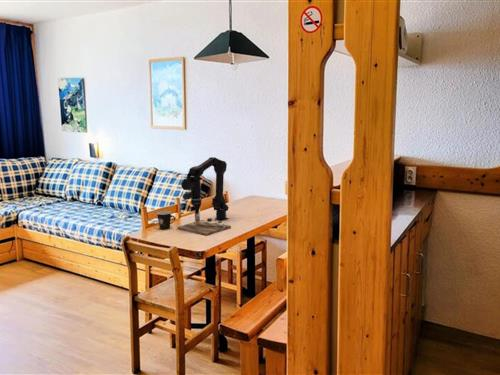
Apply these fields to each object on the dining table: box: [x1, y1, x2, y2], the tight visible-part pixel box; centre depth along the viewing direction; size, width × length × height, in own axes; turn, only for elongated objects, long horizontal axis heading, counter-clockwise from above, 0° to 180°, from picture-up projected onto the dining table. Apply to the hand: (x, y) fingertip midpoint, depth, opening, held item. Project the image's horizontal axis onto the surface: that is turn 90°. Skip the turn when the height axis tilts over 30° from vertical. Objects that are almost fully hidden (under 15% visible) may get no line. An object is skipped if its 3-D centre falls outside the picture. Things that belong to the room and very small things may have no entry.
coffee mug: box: [156, 210, 176, 231], centre depth 278 cm, size 12×9×10 cm
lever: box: [194, 210, 225, 227], centre depth 275 cm, size 20×4×8 cm, turn 66°
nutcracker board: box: [177, 217, 232, 237], centre depth 276 cm, size 21×26×4 cm
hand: (197, 212), depth 278 cm, fingers open, 9 cm apart
